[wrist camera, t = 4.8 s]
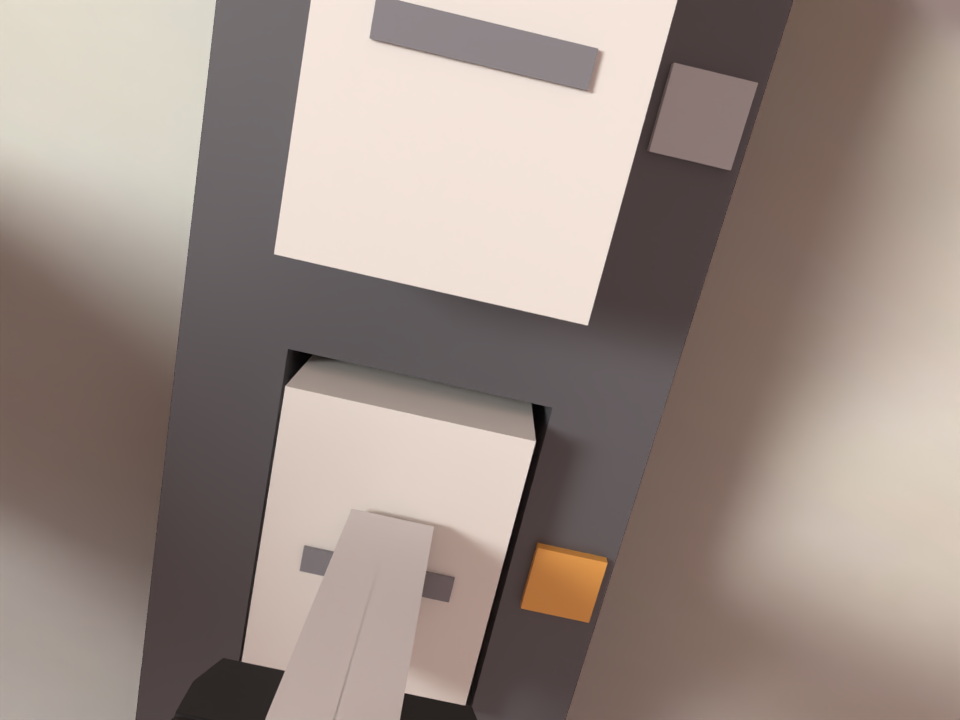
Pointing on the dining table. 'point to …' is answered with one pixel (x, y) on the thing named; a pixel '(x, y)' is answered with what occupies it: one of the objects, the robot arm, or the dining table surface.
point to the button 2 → (391, 505)
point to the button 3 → (470, 143)
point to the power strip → (436, 353)
